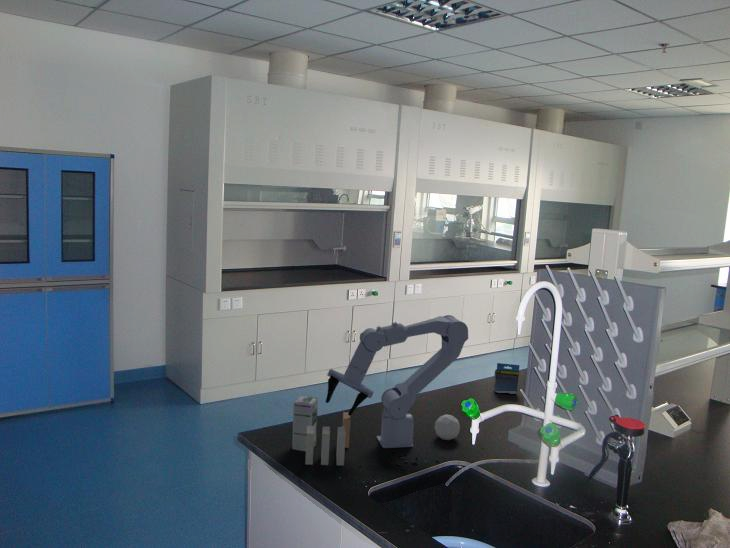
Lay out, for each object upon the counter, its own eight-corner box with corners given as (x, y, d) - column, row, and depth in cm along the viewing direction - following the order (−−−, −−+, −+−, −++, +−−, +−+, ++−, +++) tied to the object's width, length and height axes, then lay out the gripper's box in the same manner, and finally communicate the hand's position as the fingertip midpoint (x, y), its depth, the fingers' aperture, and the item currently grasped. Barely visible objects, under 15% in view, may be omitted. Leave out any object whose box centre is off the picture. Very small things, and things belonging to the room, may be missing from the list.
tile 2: (343, 457, 167) (345, 427, 165) (343, 465, 162) (345, 434, 161) (336, 457, 167) (337, 426, 165) (336, 465, 162) (338, 434, 160)
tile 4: (313, 456, 166) (314, 426, 165) (312, 464, 161) (314, 433, 160) (305, 456, 166) (307, 425, 165) (305, 464, 161) (306, 433, 160)
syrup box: (310, 452, 169) (313, 404, 167) (291, 449, 170) (293, 401, 168) (316, 444, 174) (318, 397, 172) (297, 441, 175) (299, 394, 173)
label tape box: (515, 392, 233) (518, 362, 231) (517, 395, 229) (520, 365, 227) (492, 390, 233) (495, 360, 232) (494, 393, 229) (496, 363, 228)
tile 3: (328, 456, 166) (329, 426, 165) (328, 465, 161) (329, 433, 160) (321, 456, 166) (322, 426, 165) (320, 464, 161) (322, 433, 160)
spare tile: (348, 440, 178) (349, 412, 177) (348, 447, 173) (350, 418, 172) (341, 440, 178) (343, 412, 177) (342, 447, 173) (343, 418, 172)
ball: (446, 444, 186) (455, 420, 189) (458, 445, 179) (468, 421, 182) (426, 433, 185) (436, 409, 188) (438, 434, 177) (448, 409, 180)
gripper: (333, 356, 170) (313, 398, 171) (377, 380, 167) (357, 422, 168) (339, 354, 177) (320, 395, 178) (382, 377, 174) (362, 418, 175)
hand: (338, 408), depth 173 cm, fingers open, 7 cm apart
